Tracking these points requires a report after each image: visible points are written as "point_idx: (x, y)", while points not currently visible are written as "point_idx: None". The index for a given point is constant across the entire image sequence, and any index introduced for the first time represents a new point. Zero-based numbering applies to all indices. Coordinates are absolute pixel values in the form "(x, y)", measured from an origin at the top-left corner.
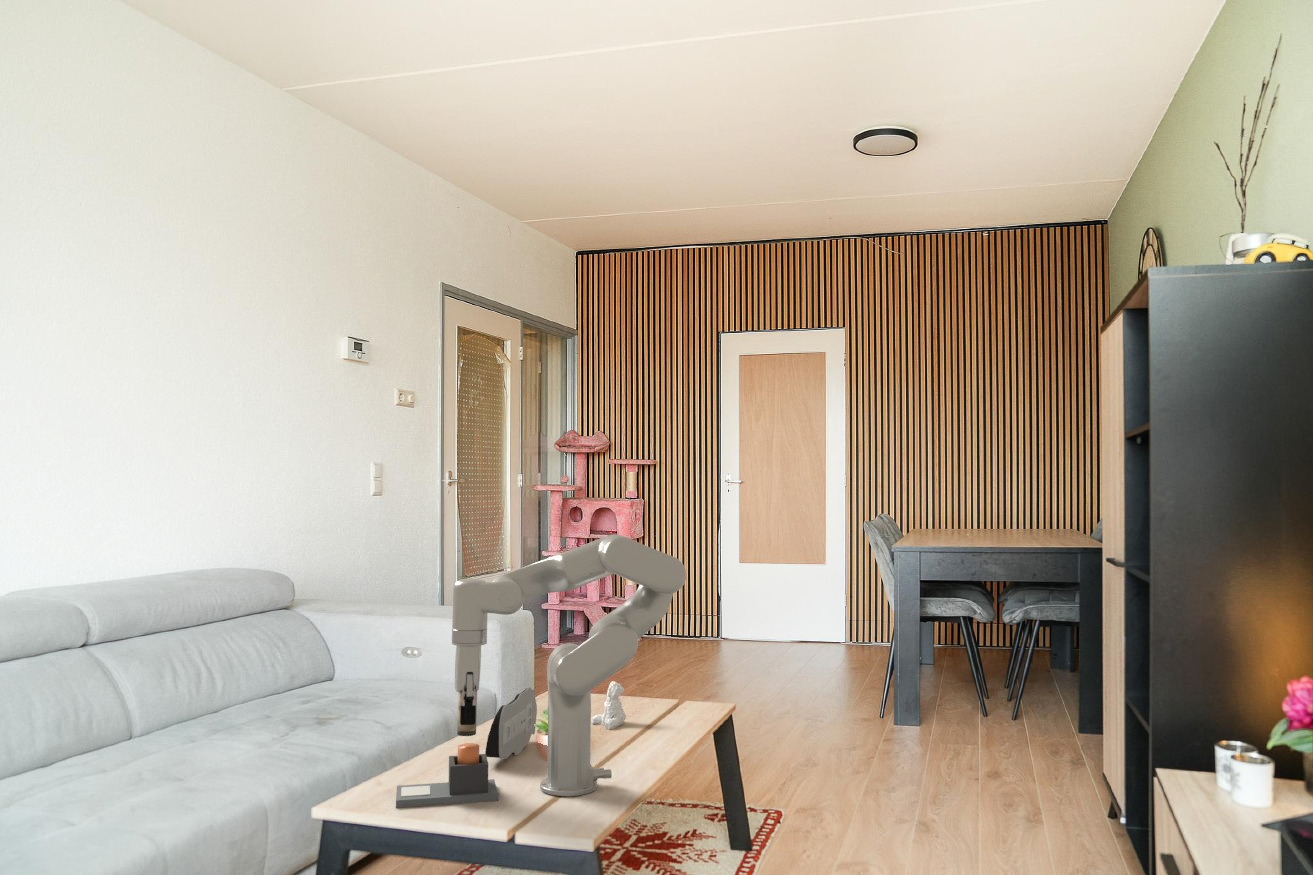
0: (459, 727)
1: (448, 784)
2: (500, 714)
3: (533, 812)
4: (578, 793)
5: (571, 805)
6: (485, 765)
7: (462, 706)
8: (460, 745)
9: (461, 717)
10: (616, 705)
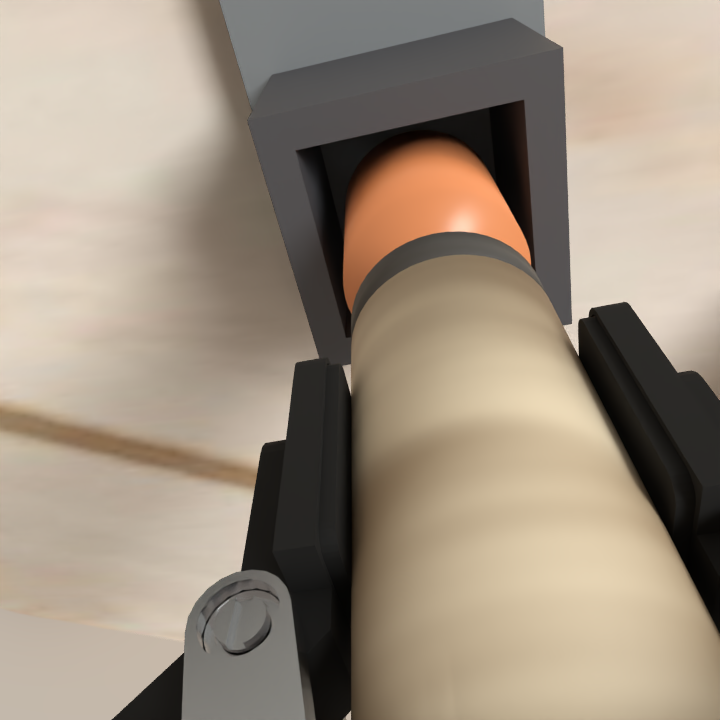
0: (381, 306)
1: (496, 19)
2: None
3: (180, 451)
4: None
5: None
6: (318, 349)
7: (221, 585)
8: (460, 209)
9: (296, 426)
10: None
